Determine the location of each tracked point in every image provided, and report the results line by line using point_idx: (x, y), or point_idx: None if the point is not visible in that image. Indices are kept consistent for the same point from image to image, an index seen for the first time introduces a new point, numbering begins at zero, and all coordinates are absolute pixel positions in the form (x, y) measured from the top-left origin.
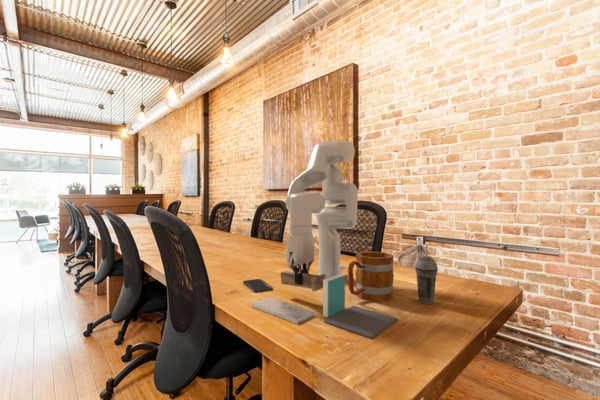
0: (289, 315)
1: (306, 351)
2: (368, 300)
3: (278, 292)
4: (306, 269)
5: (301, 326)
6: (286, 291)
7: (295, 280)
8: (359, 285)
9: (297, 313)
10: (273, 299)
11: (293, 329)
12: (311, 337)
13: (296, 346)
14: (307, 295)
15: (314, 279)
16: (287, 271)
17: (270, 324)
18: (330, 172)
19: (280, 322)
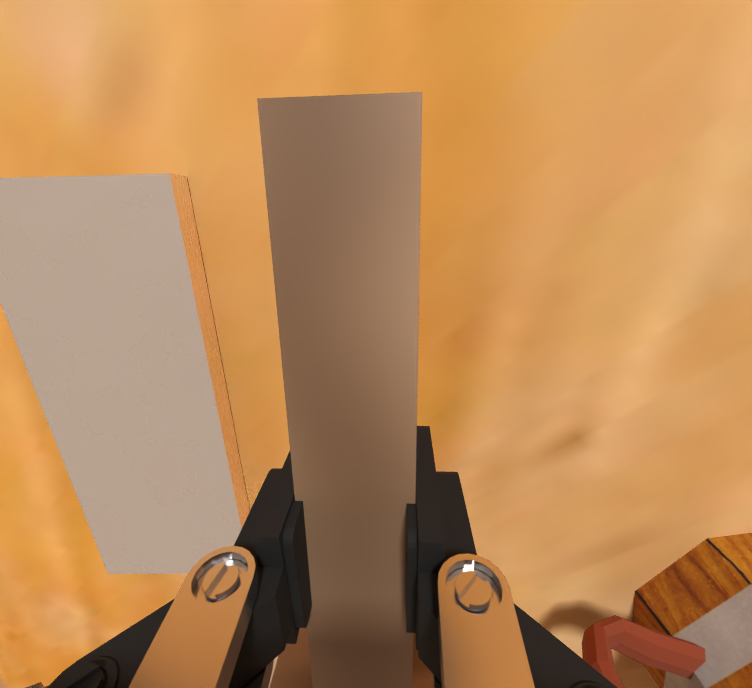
0: (103, 522)
1: (34, 674)
2: (634, 619)
3: (398, 42)
4: (432, 659)
5: (127, 577)
6: (478, 88)
7: (267, 481)
8: (738, 651)
9: (157, 533)
10: (163, 256)
11: (79, 572)
12: (105, 642)
13: (19, 644)
14: (504, 325)
15: None
16: (407, 177)
17: (2, 480)
18: None
19: (61, 496)
